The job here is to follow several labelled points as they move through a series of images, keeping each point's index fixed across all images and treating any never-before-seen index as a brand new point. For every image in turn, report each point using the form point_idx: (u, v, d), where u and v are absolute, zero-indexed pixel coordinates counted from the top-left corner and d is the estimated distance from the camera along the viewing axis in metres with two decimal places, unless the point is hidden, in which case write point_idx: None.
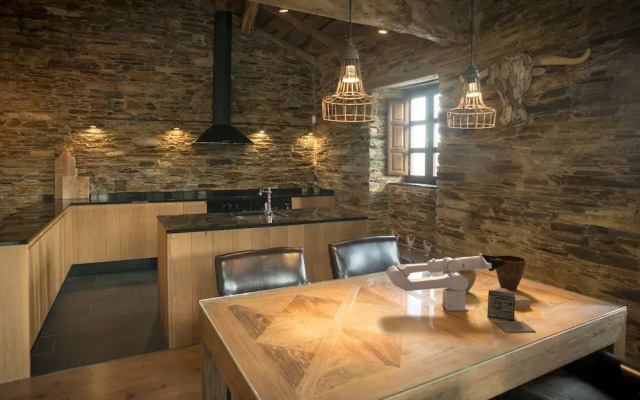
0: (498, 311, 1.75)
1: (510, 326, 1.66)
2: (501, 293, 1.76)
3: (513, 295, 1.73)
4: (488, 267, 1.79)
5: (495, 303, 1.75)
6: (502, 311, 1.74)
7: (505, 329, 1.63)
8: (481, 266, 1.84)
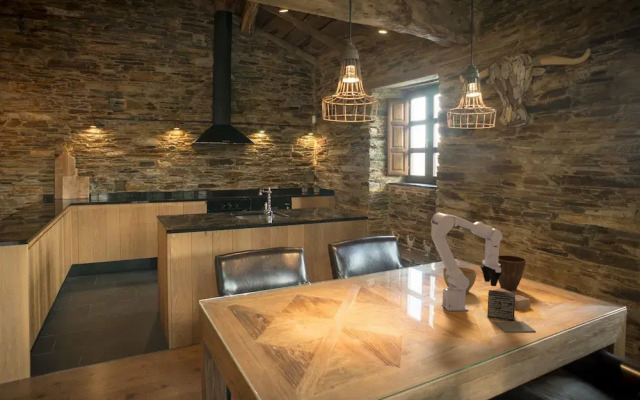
0: (498, 311, 1.75)
1: (510, 326, 1.66)
2: (501, 293, 1.76)
3: (513, 295, 1.73)
4: (497, 269, 1.81)
5: (495, 303, 1.75)
6: (502, 311, 1.74)
7: (505, 329, 1.63)
8: (491, 264, 1.86)
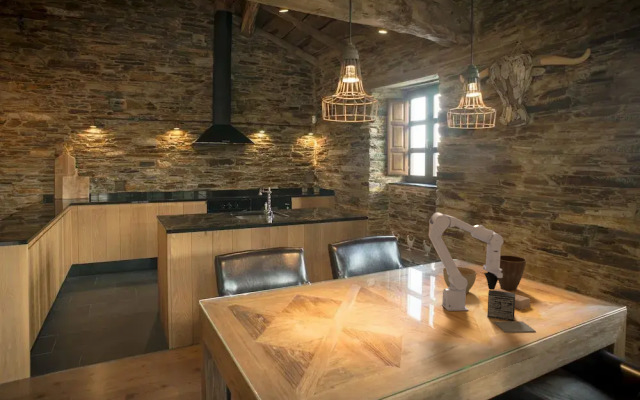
0: (498, 311, 1.75)
1: (510, 326, 1.66)
2: (501, 293, 1.76)
3: (513, 295, 1.73)
4: (499, 274, 1.78)
5: (495, 303, 1.75)
6: (502, 311, 1.74)
7: (505, 329, 1.63)
8: (492, 269, 1.82)
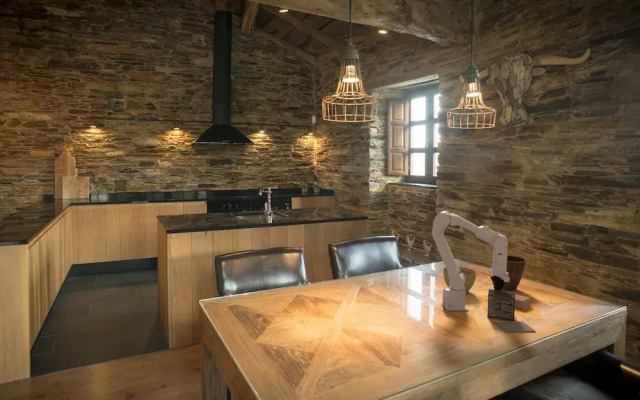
0: (498, 311, 1.74)
1: (510, 326, 1.66)
2: (501, 293, 1.74)
3: (513, 296, 1.72)
4: (506, 278, 1.72)
5: (495, 304, 1.74)
6: (502, 311, 1.74)
7: (505, 329, 1.63)
8: (499, 273, 1.77)
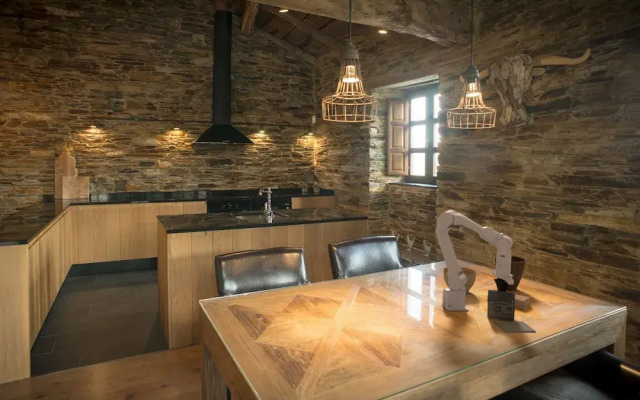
0: (498, 313, 1.73)
1: (510, 326, 1.66)
2: (500, 297, 1.71)
3: (513, 299, 1.69)
4: (510, 280, 1.69)
5: (494, 307, 1.72)
6: (502, 313, 1.73)
7: (505, 329, 1.63)
8: (503, 275, 1.73)
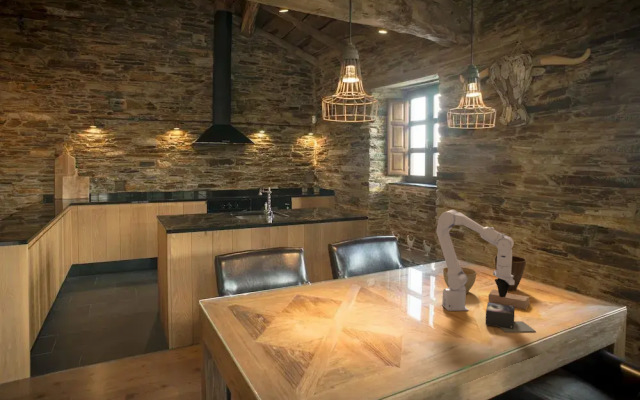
0: None
1: None
2: (499, 321, 1.65)
3: (512, 324, 1.63)
4: (511, 281, 1.68)
5: None
6: None
7: (505, 329, 1.63)
8: (503, 275, 1.73)
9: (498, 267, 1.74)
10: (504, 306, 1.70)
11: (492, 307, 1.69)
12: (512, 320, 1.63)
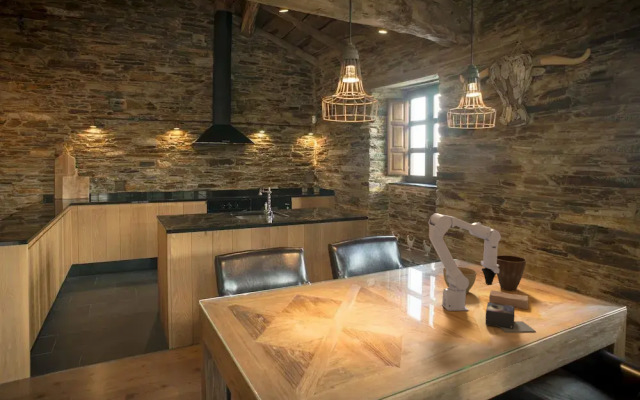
0: None
1: None
2: (499, 321, 1.65)
3: (512, 324, 1.63)
4: (496, 270, 1.81)
5: None
6: None
7: (505, 329, 1.63)
8: (489, 265, 1.85)
9: (484, 257, 1.87)
10: (504, 306, 1.70)
11: (492, 307, 1.69)
12: (512, 320, 1.63)
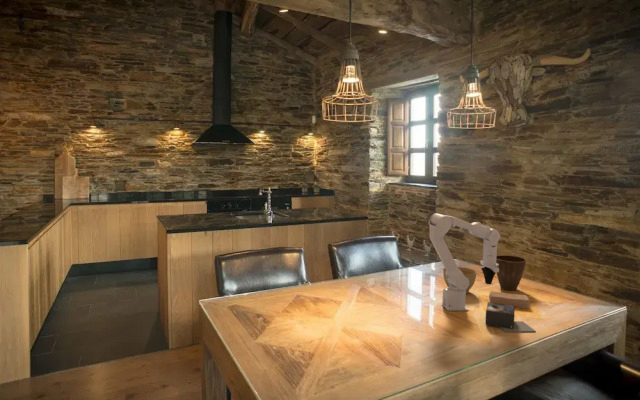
0: None
1: None
2: (499, 321, 1.65)
3: (512, 324, 1.63)
4: (495, 269, 1.81)
5: None
6: None
7: (505, 329, 1.63)
8: (489, 264, 1.86)
9: (484, 256, 1.87)
10: (504, 306, 1.70)
11: (492, 307, 1.69)
12: (512, 320, 1.63)
